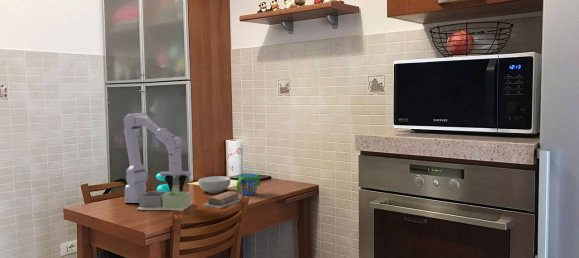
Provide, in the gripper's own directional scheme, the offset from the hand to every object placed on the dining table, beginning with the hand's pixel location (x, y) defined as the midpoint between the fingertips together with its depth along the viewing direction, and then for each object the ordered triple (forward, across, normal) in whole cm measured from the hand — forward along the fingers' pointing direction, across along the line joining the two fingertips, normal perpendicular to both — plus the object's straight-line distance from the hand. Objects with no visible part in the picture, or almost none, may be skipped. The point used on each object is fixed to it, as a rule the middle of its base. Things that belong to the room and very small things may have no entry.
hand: (176, 191), depth 232 cm
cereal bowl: (+8, +10, +33) cm, 35 cm away
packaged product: (+8, +20, +7) cm, 23 cm away
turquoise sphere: (+8, -18, +33) cm, 38 cm away
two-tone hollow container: (+7, -6, -1) cm, 9 cm away
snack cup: (+8, +30, +26) cm, 40 cm away
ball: (-1, 0, 0) cm, 1 cm away
